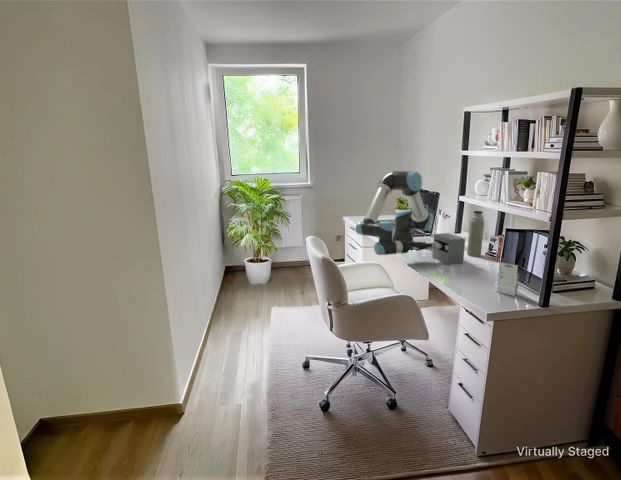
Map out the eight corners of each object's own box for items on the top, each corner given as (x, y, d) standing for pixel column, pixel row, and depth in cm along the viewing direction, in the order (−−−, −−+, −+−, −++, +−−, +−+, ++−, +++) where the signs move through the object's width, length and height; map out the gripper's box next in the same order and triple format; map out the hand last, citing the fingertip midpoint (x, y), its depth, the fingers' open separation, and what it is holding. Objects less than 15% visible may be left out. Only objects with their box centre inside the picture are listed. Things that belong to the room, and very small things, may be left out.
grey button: (435, 248, 221) (435, 243, 220) (442, 247, 222) (443, 242, 221) (438, 249, 218) (438, 244, 217) (445, 248, 219) (446, 243, 219)
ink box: (498, 290, 175) (501, 260, 172) (517, 294, 170) (520, 263, 166) (496, 292, 172) (499, 262, 169) (514, 296, 167) (518, 265, 164)
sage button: (444, 249, 217) (445, 244, 216) (452, 248, 218) (452, 244, 218) (447, 250, 214) (448, 245, 214) (455, 250, 216) (455, 245, 215)
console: (432, 257, 229) (434, 234, 226) (446, 256, 232) (448, 233, 228) (448, 265, 214) (450, 239, 211) (463, 263, 217) (465, 238, 213)
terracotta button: (434, 245, 226) (434, 241, 225) (441, 245, 227) (442, 240, 226) (437, 247, 223) (437, 242, 222) (444, 246, 224) (444, 241, 224)
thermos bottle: (466, 253, 239) (470, 210, 233) (479, 253, 237) (483, 210, 231) (467, 256, 232) (472, 212, 225) (481, 257, 230) (486, 212, 223)
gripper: (394, 250, 225) (429, 247, 231) (405, 256, 213) (441, 253, 219) (395, 238, 223) (429, 236, 229) (406, 243, 211) (442, 240, 217)
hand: (435, 244), depth 224 cm, fingers closed
